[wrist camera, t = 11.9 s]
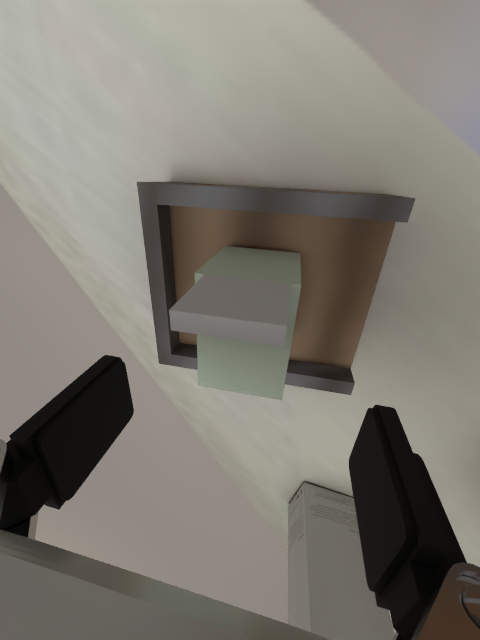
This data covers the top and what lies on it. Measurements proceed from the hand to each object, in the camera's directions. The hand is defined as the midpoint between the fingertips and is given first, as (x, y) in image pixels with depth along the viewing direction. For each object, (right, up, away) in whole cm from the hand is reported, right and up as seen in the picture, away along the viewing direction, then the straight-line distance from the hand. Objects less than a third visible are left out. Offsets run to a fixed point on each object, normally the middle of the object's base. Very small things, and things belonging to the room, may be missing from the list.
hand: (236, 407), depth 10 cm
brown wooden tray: (+2, +7, +13) cm, 15 cm away
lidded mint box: (+2, +5, +10) cm, 11 cm away
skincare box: (+12, -21, +25) cm, 35 cm away
